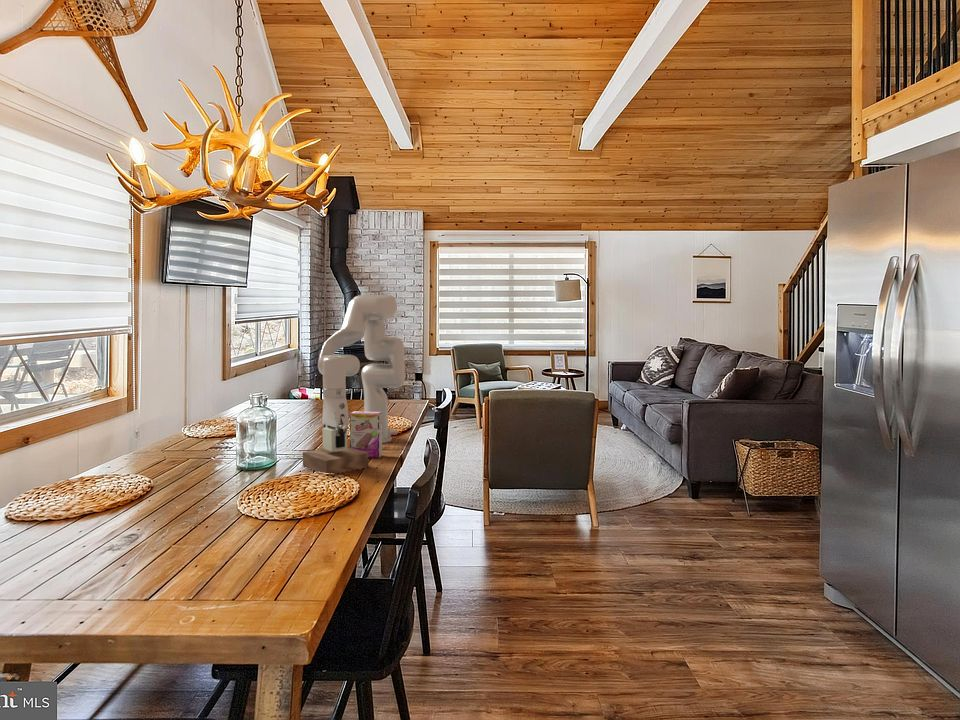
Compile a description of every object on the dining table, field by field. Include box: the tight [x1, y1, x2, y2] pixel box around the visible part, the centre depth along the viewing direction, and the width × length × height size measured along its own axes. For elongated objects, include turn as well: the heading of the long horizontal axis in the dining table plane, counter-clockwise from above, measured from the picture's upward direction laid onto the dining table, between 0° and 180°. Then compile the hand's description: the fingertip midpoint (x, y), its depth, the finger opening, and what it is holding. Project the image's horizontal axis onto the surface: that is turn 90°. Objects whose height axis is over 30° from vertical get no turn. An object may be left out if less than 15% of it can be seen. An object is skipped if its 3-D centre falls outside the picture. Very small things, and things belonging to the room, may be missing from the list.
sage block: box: [321, 426, 348, 451], centre depth 215 cm, size 6×6×7 cm
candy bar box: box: [349, 410, 383, 459], centre depth 231 cm, size 11×5×16 cm, turn 84°
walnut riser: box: [302, 446, 369, 475], centre depth 216 cm, size 16×16×5 cm
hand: (335, 445), depth 215 cm, fingers closed on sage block, 5 cm apart
